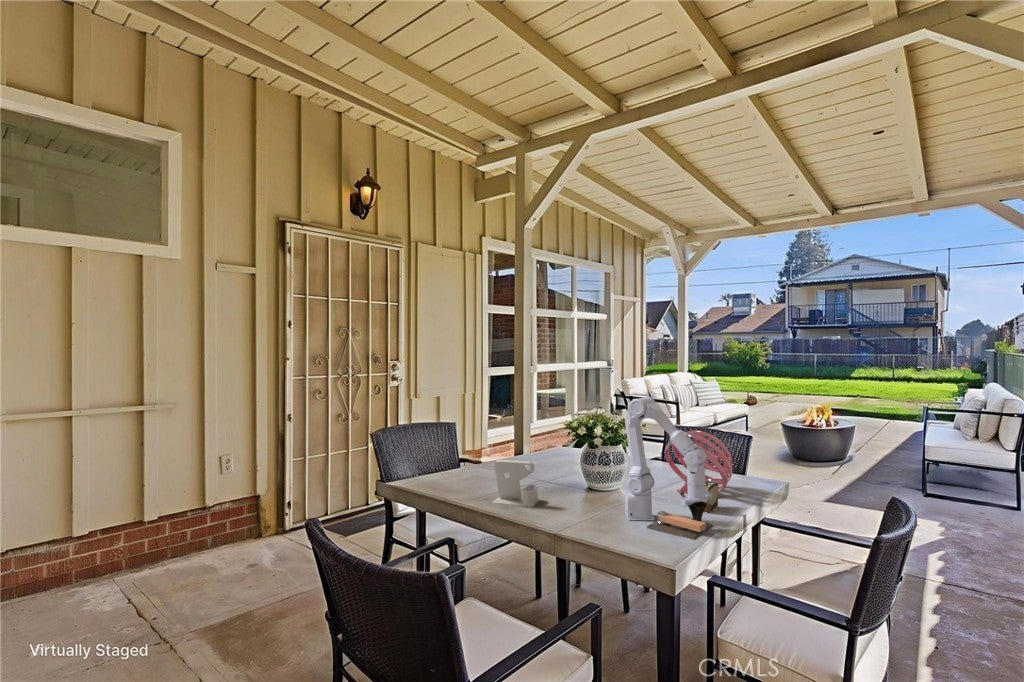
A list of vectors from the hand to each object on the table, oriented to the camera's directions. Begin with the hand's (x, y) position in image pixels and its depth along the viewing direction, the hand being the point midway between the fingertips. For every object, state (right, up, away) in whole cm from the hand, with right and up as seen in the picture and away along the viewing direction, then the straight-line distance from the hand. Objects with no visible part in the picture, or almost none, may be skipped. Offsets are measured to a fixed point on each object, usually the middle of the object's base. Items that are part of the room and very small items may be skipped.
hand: (697, 523), depth 175 cm
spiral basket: (+17, -2, +41) cm, 45 cm away
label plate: (-5, -2, +3) cm, 6 cm away
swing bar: (-5, -1, +2) cm, 6 cm away
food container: (+11, -2, +22) cm, 24 cm away
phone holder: (-62, -4, +35) cm, 71 cm away
